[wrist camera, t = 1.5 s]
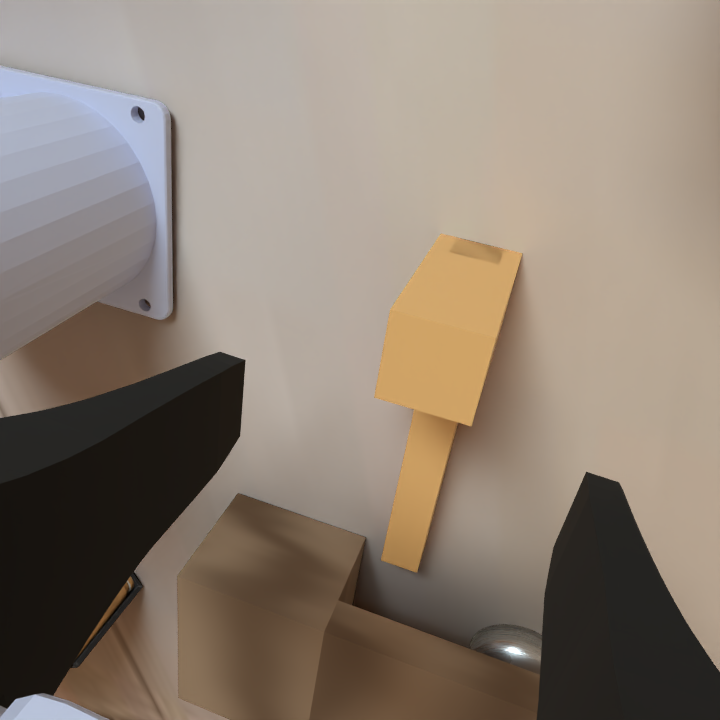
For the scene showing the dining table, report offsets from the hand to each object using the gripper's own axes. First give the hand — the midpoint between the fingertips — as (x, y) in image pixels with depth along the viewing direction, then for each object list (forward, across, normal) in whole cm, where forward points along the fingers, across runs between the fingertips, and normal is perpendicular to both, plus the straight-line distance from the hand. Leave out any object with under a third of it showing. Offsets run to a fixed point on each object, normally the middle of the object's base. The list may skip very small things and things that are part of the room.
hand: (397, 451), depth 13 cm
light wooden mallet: (+9, 0, +5) cm, 11 cm away
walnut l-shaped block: (+10, -1, +16) cm, 19 cm away
